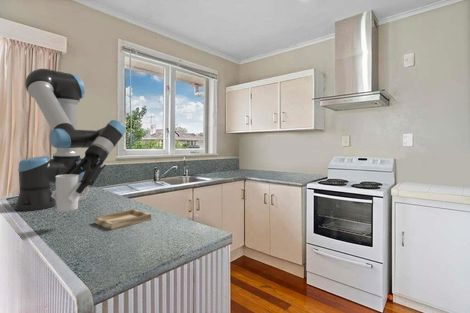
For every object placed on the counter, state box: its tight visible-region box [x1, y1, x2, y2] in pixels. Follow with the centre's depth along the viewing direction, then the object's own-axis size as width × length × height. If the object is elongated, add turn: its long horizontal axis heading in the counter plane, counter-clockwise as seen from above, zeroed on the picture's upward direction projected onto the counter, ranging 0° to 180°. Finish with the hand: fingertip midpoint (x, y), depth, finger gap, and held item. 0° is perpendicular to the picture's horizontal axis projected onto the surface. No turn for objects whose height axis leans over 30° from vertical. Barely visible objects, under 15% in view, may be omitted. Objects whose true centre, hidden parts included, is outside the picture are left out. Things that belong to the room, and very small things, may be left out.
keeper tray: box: [94, 209, 152, 231], centre depth 99 cm, size 13×16×2 cm
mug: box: [55, 174, 90, 212], centre depth 93 cm, size 10×7×12 cm, turn 132°
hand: (62, 199), depth 90 cm, fingers closed on mug, 7 cm apart
